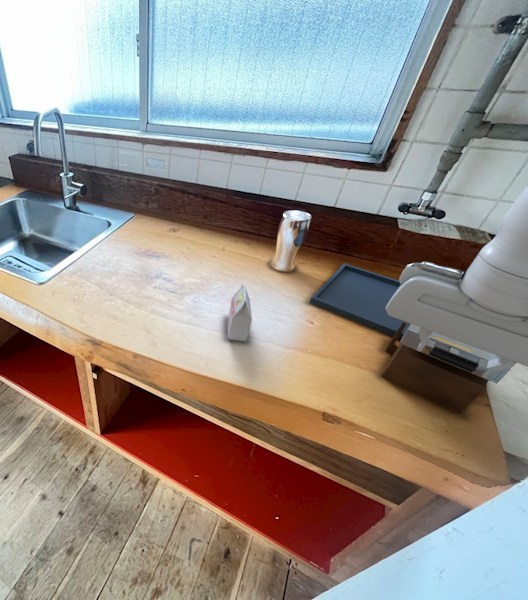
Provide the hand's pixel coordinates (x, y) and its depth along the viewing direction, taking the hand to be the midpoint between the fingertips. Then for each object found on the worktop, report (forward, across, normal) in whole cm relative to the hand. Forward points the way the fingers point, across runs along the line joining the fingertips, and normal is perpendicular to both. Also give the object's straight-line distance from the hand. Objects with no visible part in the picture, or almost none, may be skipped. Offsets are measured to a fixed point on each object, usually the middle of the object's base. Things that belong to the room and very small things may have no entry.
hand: (450, 361), depth 48 cm
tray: (+10, -10, +26) cm, 30 cm away
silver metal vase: (+10, -36, +28) cm, 46 cm away
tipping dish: (+3, 0, +8) cm, 9 cm away
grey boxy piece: (+10, -31, -4) cm, 33 cm away
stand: (+10, 0, +8) cm, 13 cm away
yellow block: (+2, 0, +6) cm, 7 cm away
